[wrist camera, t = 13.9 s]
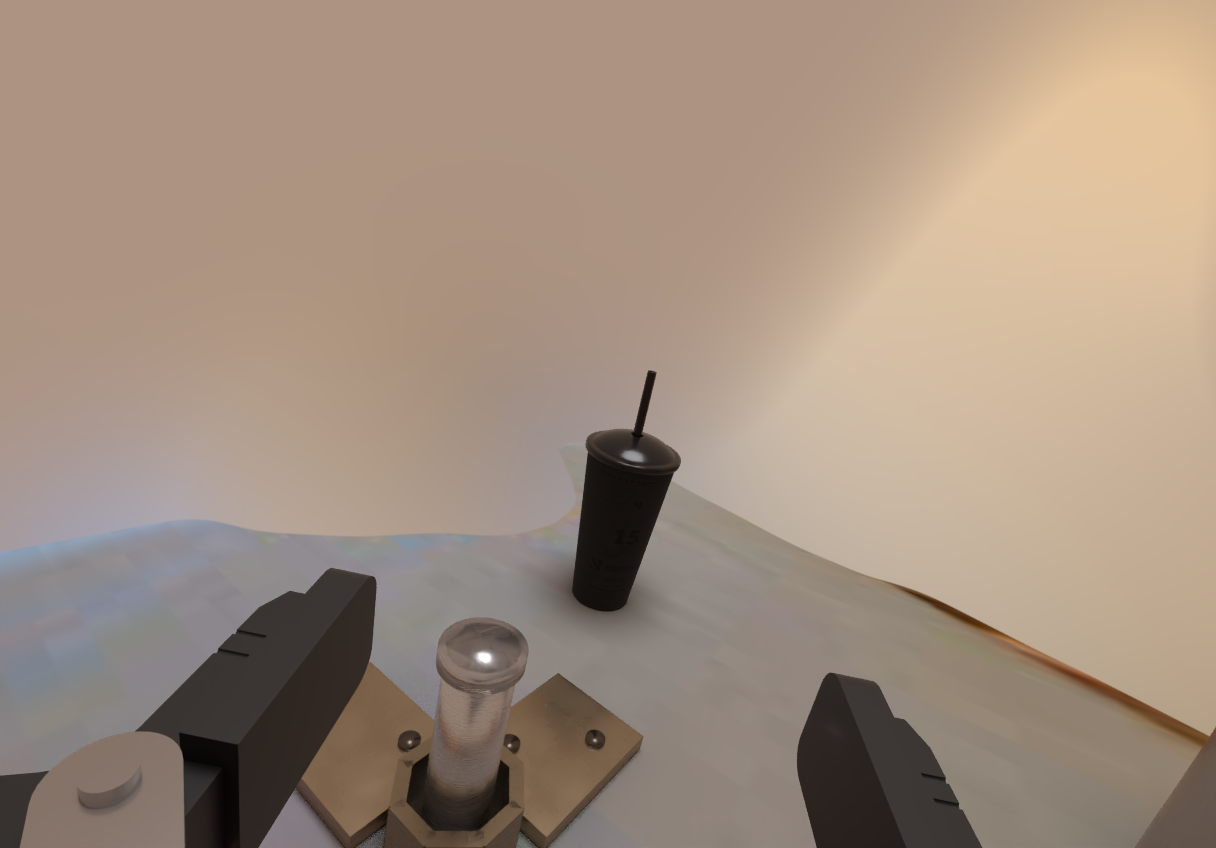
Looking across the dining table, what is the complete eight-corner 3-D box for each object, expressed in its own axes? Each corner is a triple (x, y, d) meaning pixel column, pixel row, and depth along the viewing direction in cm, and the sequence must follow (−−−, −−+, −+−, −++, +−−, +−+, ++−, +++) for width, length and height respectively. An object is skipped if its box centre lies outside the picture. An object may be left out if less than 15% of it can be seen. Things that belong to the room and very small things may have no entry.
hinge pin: (454, 796, 32) (486, 606, 28) (504, 846, 30) (546, 650, 26) (392, 846, 29) (418, 642, 25) (444, 906, 27) (481, 694, 23)
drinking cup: (541, 573, 53) (585, 353, 47) (615, 564, 57) (665, 360, 51) (579, 629, 47) (635, 385, 41) (659, 614, 51) (721, 390, 45)
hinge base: (471, 621, 45) (478, 575, 44) (639, 748, 37) (654, 697, 36) (253, 735, 33) (255, 676, 32) (438, 962, 25) (450, 896, 24)
